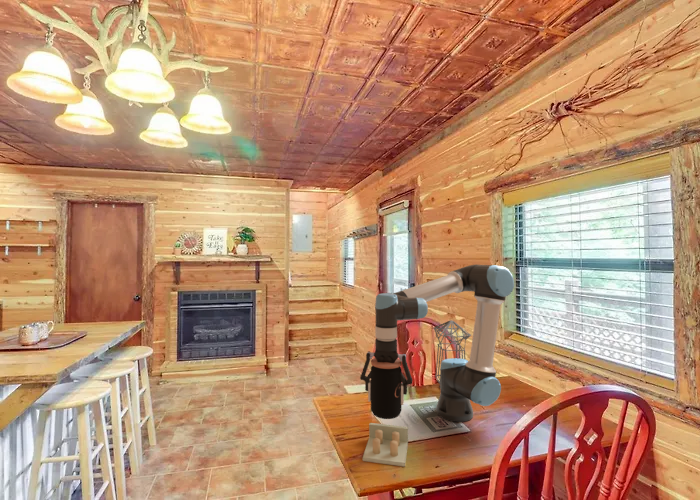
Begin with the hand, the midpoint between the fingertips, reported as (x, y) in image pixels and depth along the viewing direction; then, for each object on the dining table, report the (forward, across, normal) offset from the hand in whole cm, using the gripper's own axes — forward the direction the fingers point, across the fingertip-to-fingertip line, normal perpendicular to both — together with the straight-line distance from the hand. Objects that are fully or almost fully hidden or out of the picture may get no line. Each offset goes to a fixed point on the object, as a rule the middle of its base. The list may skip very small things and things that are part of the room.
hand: (386, 401), depth 123 cm
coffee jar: (+4, 0, 0) cm, 4 cm away
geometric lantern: (+18, -25, -61) cm, 68 cm away
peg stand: (+18, 0, 0) cm, 18 cm away
